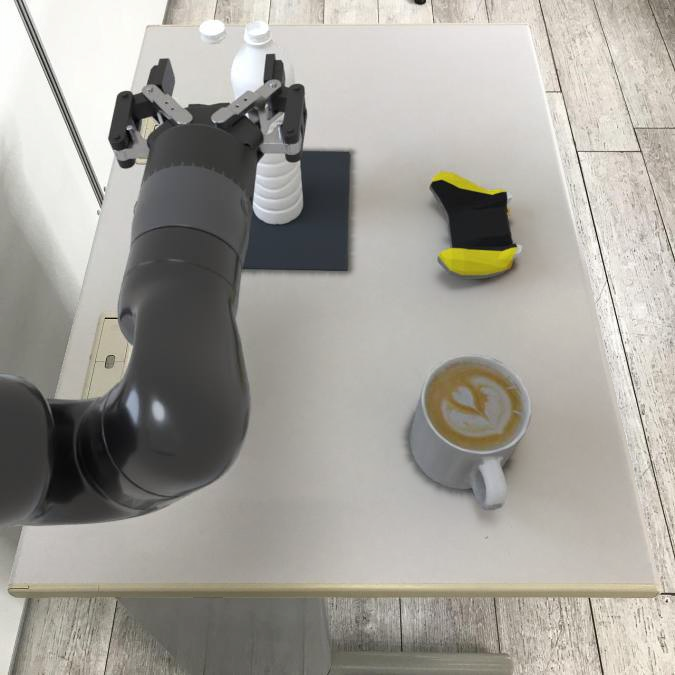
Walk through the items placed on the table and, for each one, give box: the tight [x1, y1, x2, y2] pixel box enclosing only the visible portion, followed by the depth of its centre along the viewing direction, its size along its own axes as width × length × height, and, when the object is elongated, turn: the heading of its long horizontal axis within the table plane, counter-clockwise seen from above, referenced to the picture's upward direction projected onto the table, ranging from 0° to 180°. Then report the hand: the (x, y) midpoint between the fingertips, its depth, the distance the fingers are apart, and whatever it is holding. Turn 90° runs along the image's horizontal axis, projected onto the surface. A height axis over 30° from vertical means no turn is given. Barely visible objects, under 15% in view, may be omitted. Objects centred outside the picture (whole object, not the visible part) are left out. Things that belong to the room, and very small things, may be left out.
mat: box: [242, 150, 350, 272], centre depth 82 cm, size 20×20×1 cm
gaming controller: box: [429, 170, 523, 280], centre depth 77 cm, size 15×6×10 cm
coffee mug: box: [409, 353, 532, 512], centre depth 61 cm, size 13×10×10 cm
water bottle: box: [198, 19, 303, 224], centre depth 71 cm, size 9×6×25 cm
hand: (220, 65), depth 52 cm, fingers open, 8 cm apart
